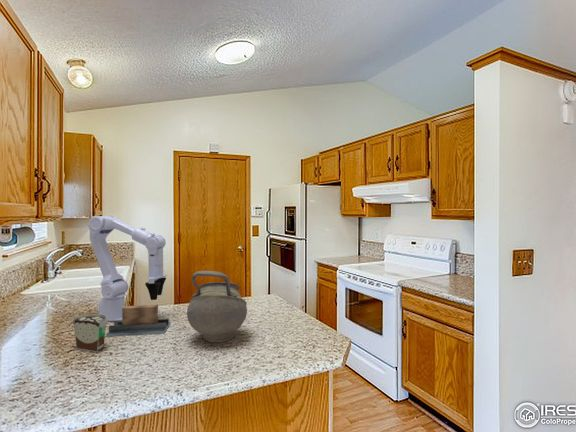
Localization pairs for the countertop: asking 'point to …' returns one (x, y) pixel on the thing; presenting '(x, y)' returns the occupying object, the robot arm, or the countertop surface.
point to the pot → (216, 308)
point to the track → (138, 328)
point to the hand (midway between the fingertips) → (156, 297)
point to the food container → (90, 332)
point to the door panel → (140, 314)
